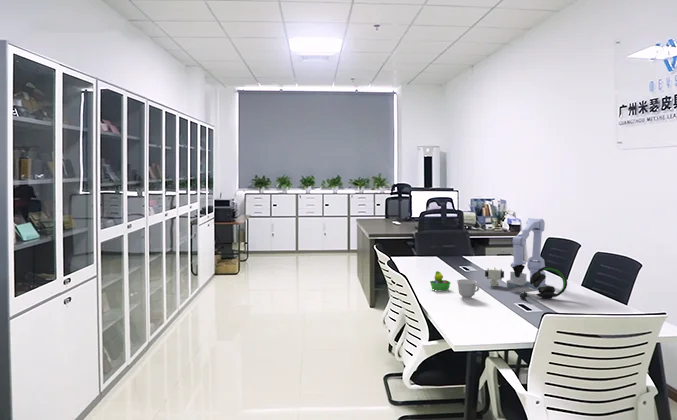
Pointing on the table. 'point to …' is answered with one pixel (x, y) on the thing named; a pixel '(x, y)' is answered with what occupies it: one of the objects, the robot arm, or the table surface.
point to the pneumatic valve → (494, 275)
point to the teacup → (467, 288)
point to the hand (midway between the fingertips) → (518, 276)
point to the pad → (523, 289)
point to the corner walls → (523, 285)
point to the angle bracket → (517, 279)
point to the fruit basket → (439, 282)
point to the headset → (545, 291)
